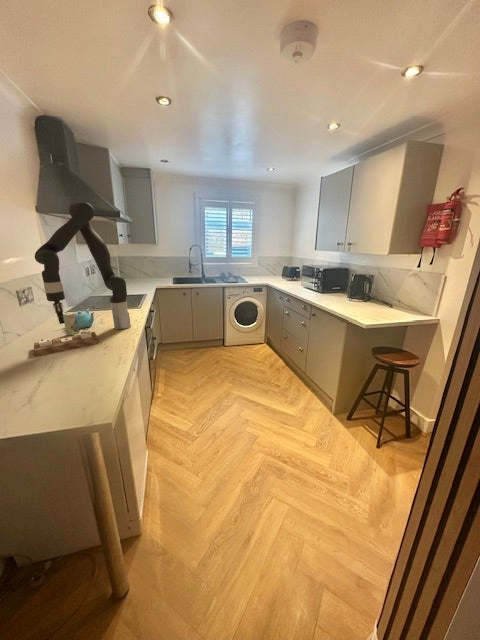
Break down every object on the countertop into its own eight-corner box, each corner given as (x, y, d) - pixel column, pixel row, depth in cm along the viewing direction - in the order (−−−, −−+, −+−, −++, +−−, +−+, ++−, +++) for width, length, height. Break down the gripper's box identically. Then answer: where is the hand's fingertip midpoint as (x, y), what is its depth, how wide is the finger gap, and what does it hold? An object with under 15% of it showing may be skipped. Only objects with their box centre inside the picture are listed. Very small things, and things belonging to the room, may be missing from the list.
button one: (72, 342, 140) (71, 336, 139) (73, 345, 136) (72, 339, 135) (62, 345, 137) (60, 338, 136) (62, 348, 133) (61, 341, 132)
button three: (90, 336, 145) (89, 330, 144) (92, 339, 141) (91, 332, 140) (80, 338, 142) (79, 332, 141) (81, 341, 138) (80, 334, 137)
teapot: (71, 331, 157) (68, 316, 154) (66, 325, 168) (63, 311, 164) (97, 326, 167) (94, 311, 164) (91, 321, 177) (88, 307, 174)
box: (72, 335, 150) (68, 315, 147) (66, 335, 151) (61, 314, 147) (79, 332, 155) (75, 312, 152) (73, 332, 156) (69, 312, 152)
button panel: (95, 336, 149) (94, 331, 148) (98, 342, 140) (97, 337, 139) (35, 348, 133) (34, 343, 132) (35, 356, 124) (33, 350, 123)
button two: (52, 344, 134) (50, 337, 133) (52, 347, 131) (51, 340, 129) (40, 346, 131) (38, 339, 130) (40, 349, 128) (38, 342, 126)
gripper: (64, 291, 124) (71, 325, 130) (62, 288, 134) (69, 318, 140) (45, 293, 120) (53, 328, 125) (44, 289, 130) (52, 321, 135)
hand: (62, 323), depth 132 cm, fingers closed
